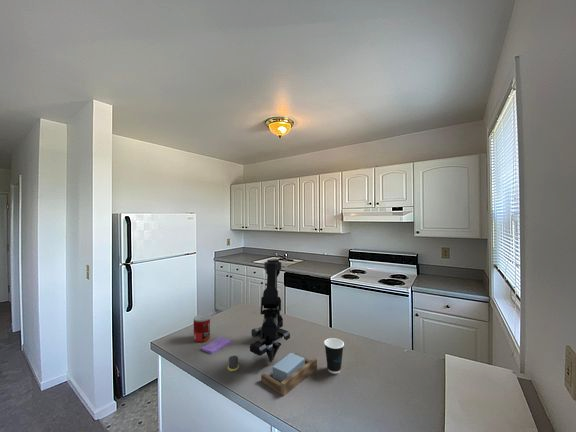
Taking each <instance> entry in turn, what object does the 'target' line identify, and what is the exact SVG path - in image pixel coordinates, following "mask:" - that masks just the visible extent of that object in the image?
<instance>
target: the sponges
mask: <svg viewBox="0 0 576 432" xmlns="http://www.w3.org/2000/svg"><path fill="white" fill-rule="evenodd" d="M231 343H232V339H230V338H225V337H223V336H220V337H218V338H216V339H215V340H212V341H211V342H209V343H207V344H206V345H203V346H202V347H201V351H203V352H204V353H208V354H210V355H214V354H215V353H216V352H218V351H221V350H222V349H223V348H225V347H226V346H228V345H230V344H231Z"/></svg>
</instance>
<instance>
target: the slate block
mask: <svg viewBox="0 0 576 432" xmlns="http://www.w3.org/2000/svg"><path fill="white" fill-rule="evenodd" d="M298 355H299V354H298ZM298 355H295V354H294V352H293V353H292V352H290V353H288V354H287V355H286V356H285V357H283V358H282V359H281V360H279V361H278V362H276V364H274V365H273V366H272V378H273V379H275V380H277V381H278V382H280V383H281V382H282V381H283V380H285V379H286V378H287V377H289V376H290V375H292V374H293V373H294V372H296V371H297V370H298V369H300V368H301V367H302V366H304V365H305V358H306V357H305V358H303V357H304V356H303V357H300V356H298Z"/></svg>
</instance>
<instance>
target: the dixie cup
mask: <svg viewBox="0 0 576 432" xmlns="http://www.w3.org/2000/svg"><path fill="white" fill-rule="evenodd" d="M323 345H324V349H325V356H326V357H325V358H326V366H327V371H328V372H329V373H330V374H333V375H336V374H340V373H341V370H342V362H343V361H342V360H343V352H344V346H345V343H344V341H343V340H341V339H339V338H336V337H335V338H334V337H333V338H332V337H330V338H327V339H325V340H324V341H323Z"/></svg>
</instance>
